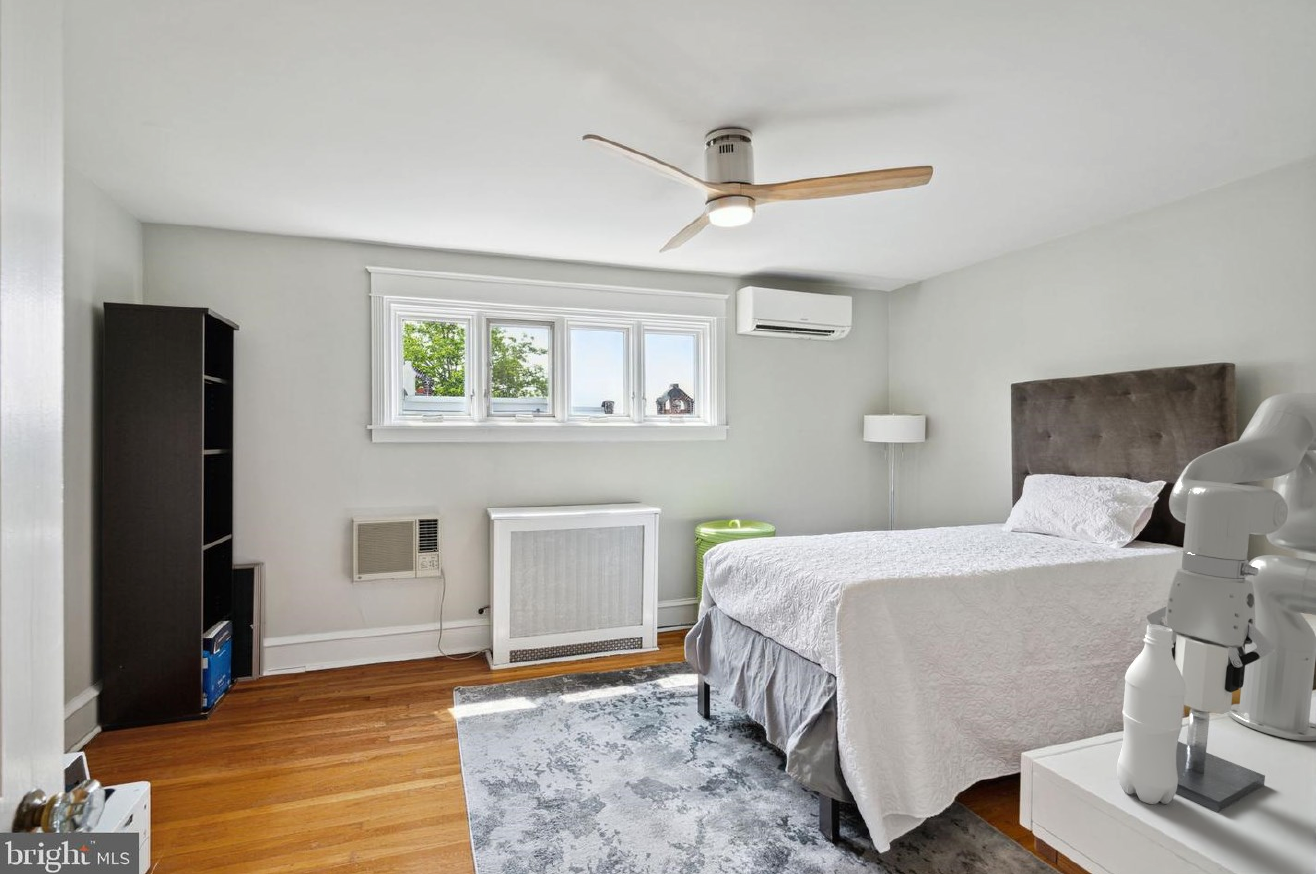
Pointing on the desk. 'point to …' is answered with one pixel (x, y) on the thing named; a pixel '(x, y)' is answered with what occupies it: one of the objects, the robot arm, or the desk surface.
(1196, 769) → the roll holder
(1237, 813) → the desk surface
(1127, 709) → the water bottle
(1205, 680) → the white hollow octagonal tube
